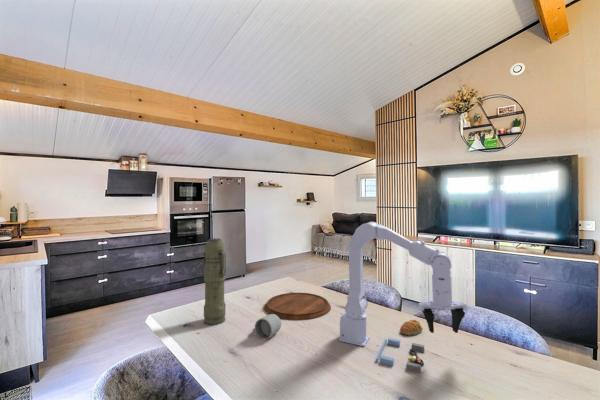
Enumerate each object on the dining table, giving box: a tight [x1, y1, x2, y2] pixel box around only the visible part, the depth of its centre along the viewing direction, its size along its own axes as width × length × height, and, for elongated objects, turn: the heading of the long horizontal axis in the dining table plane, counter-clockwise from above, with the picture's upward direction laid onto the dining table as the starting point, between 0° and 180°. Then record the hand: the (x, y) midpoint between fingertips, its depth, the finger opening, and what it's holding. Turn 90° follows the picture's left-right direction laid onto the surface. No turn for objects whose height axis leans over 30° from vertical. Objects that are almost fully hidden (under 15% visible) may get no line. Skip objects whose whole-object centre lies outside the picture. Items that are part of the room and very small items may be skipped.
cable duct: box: [375, 337, 425, 374], centre depth 98 cm, size 13×15×2 cm
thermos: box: [203, 238, 227, 326], centre depth 126 cm, size 9×12×35 cm
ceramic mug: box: [252, 314, 282, 341], centre depth 113 cm, size 11×8×8 cm
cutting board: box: [264, 292, 332, 321], centre depth 143 cm, size 32×32×3 cm
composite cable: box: [407, 348, 425, 367], centre depth 96 cm, size 10×5×2 cm, turn 158°
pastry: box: [399, 319, 424, 336], centre depth 116 cm, size 9×7×4 cm
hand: (443, 331), depth 96 cm, fingers open, 7 cm apart
